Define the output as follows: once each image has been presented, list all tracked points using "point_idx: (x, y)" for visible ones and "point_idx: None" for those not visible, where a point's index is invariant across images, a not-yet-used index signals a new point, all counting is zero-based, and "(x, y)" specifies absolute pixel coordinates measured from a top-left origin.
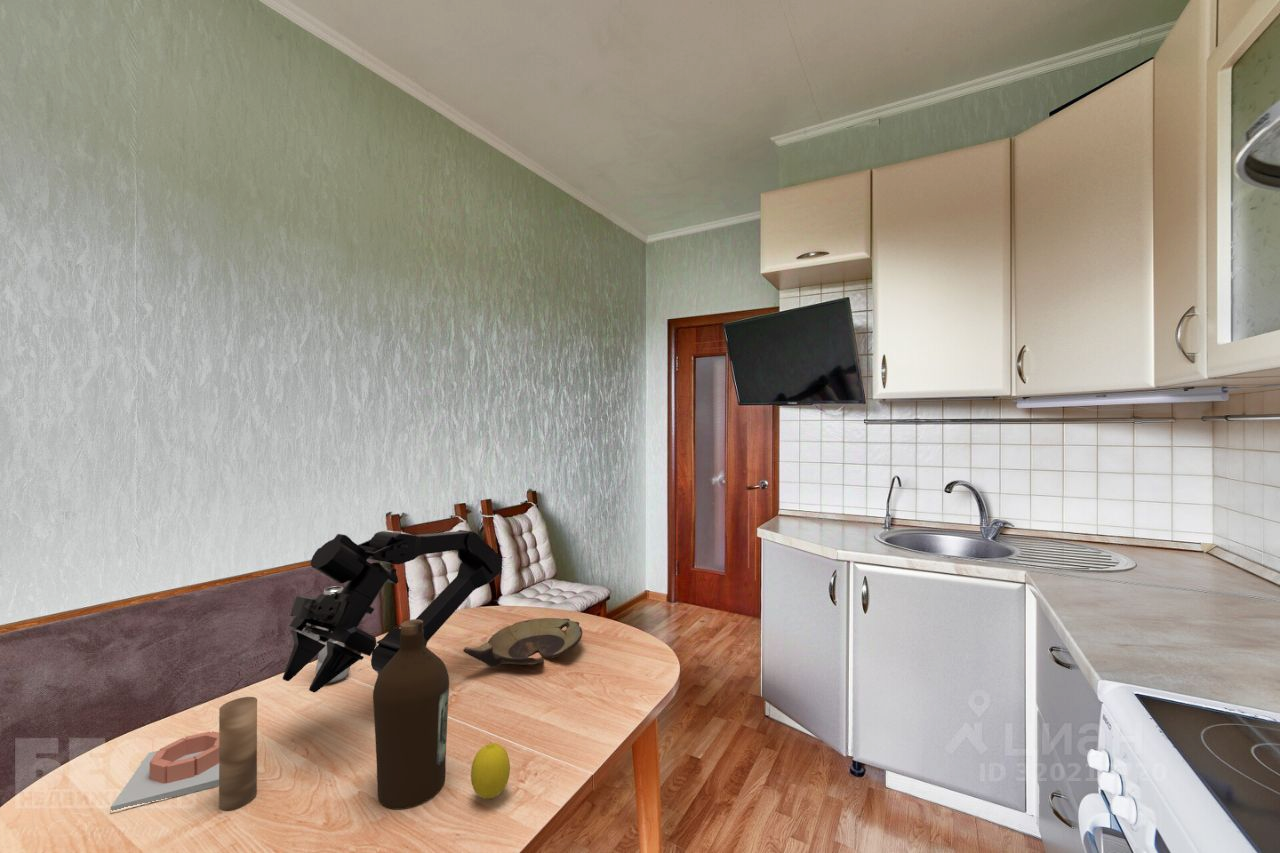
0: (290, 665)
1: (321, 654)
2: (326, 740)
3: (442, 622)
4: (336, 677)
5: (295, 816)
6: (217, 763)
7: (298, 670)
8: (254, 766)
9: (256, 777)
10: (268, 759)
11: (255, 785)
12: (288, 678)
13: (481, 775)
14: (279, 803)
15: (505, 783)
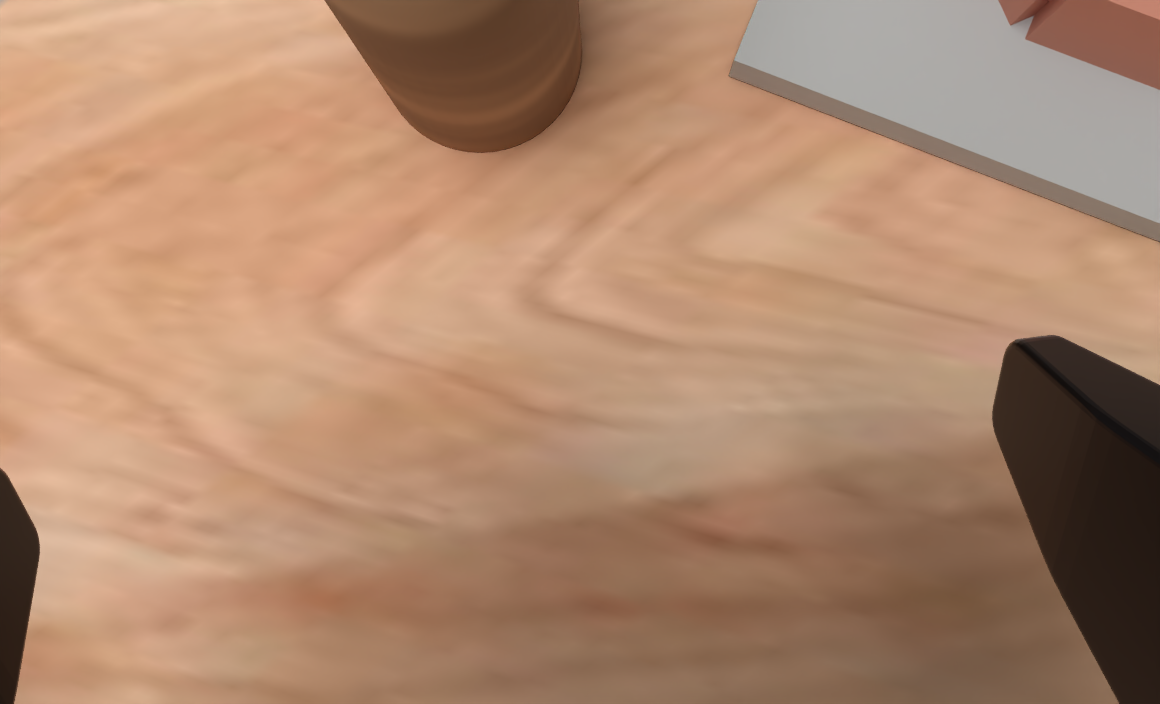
0: (1156, 473)
1: None
2: (778, 696)
3: None
4: None
5: (9, 253)
6: (1004, 8)
7: (1085, 610)
8: (362, 51)
9: (414, 106)
10: (849, 309)
11: (405, 110)
12: (1008, 422)
13: None
14: (226, 222)
15: None
